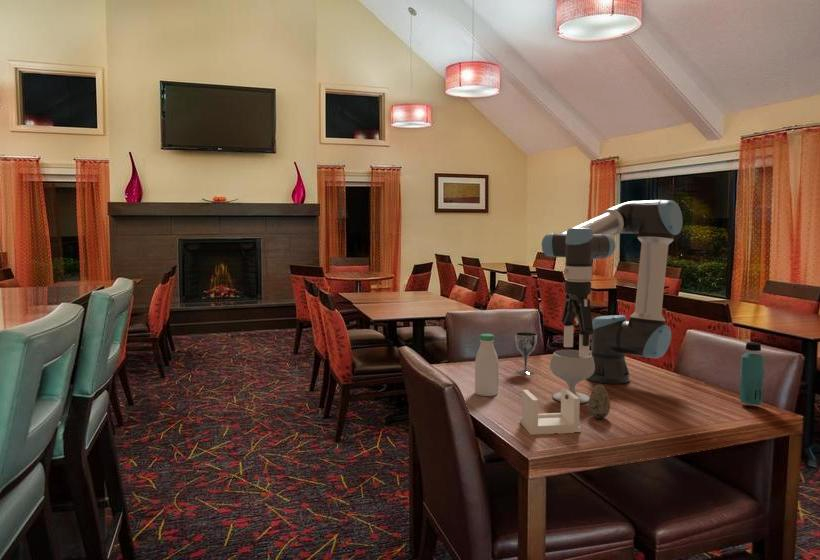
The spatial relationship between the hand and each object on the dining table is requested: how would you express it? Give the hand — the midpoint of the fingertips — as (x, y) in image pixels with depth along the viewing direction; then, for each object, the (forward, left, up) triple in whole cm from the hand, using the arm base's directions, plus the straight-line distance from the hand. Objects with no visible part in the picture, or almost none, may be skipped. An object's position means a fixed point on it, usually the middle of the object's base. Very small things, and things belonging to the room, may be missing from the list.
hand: (575, 351), depth 177 cm
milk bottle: (+21, -23, -19) cm, 37 cm away
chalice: (-5, -14, -19) cm, 24 cm away
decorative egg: (-6, +5, -19) cm, 20 cm away
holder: (+11, +11, -19) cm, 25 cm away
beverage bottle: (-57, 0, -19) cm, 60 cm away
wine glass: (0, -48, -19) cm, 52 cm away
